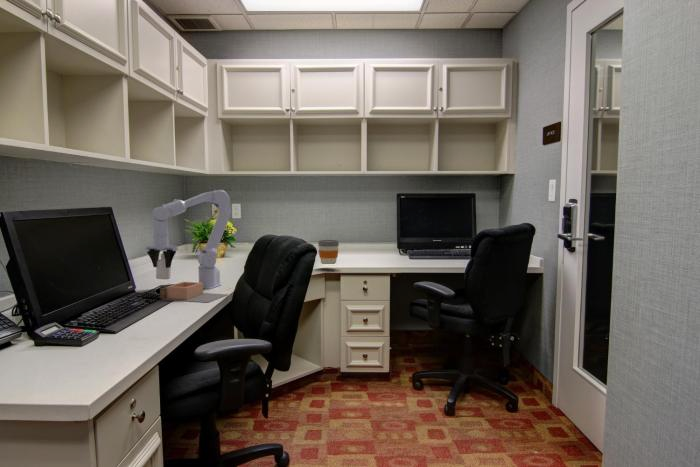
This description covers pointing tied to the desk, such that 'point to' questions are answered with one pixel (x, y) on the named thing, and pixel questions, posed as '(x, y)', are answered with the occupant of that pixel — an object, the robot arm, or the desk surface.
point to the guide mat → (201, 298)
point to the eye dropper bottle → (162, 269)
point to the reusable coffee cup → (328, 251)
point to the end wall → (163, 293)
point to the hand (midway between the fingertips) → (162, 267)
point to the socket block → (184, 290)
